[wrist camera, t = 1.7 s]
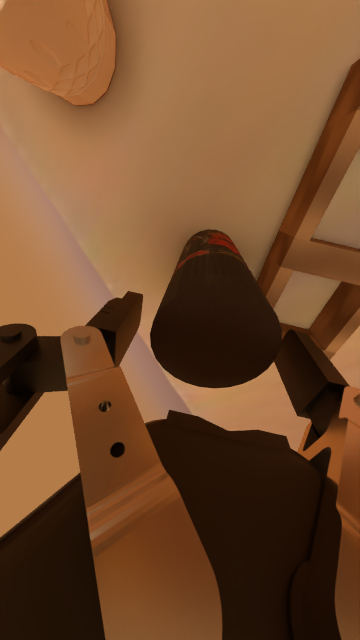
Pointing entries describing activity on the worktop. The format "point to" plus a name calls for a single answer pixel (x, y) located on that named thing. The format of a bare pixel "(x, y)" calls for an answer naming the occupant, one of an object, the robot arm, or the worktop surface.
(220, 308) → the deodorant
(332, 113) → the wooden divided tray
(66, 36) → the white cup
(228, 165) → the worktop surface
